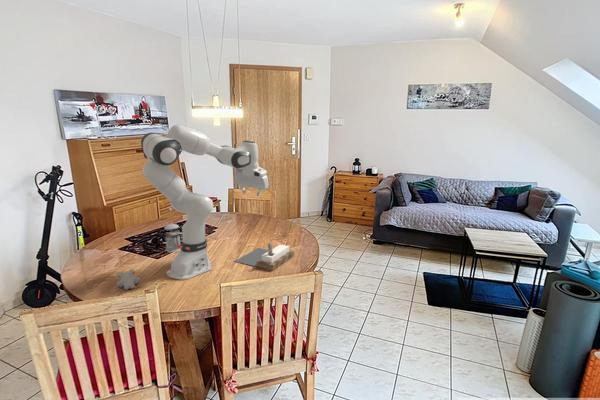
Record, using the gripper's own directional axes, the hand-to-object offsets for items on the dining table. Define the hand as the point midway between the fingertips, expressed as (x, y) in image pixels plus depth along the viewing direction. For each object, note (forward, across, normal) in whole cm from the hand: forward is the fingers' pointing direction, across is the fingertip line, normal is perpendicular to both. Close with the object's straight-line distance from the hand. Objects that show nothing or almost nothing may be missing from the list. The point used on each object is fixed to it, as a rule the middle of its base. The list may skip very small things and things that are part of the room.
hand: (251, 194), depth 190 cm
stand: (+31, +21, -11) cm, 39 cm away
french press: (+35, -41, -21) cm, 58 cm away
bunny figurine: (+29, -29, -62) cm, 75 cm away
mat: (+32, +8, -10) cm, 35 cm away
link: (+28, +21, -11) cm, 37 cm away
